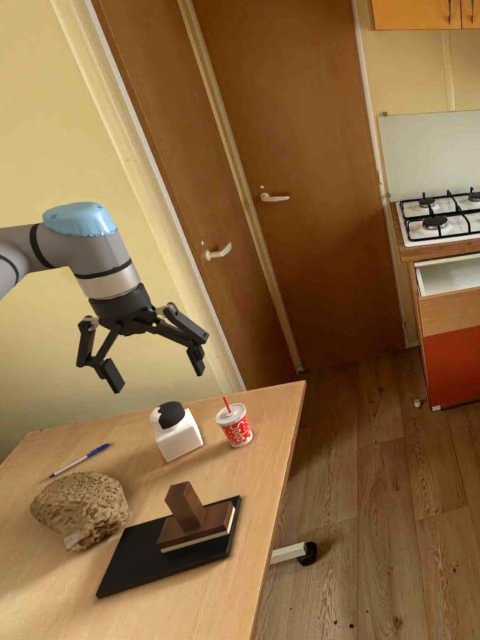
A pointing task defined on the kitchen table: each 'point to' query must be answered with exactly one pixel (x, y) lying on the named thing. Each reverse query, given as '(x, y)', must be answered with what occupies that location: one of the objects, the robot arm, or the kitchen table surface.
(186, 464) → the kitchen table surface
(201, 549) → the panel
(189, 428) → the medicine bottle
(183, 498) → the brown block
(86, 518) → the sponge
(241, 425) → the beverage cup
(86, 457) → the ballpoint pen
